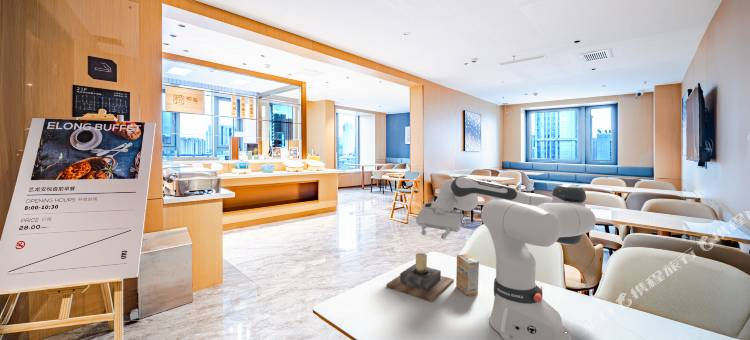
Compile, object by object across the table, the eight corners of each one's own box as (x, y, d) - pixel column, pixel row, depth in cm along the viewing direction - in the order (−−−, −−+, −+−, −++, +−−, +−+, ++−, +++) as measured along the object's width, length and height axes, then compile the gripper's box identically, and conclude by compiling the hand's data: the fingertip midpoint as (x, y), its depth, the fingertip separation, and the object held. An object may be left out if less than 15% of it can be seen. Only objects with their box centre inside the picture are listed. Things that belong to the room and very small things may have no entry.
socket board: (453, 281, 126) (453, 269, 125) (432, 302, 110) (432, 288, 109) (411, 270, 138) (411, 259, 137) (386, 286, 122) (386, 274, 121)
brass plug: (428, 280, 124) (428, 254, 123) (423, 284, 121) (423, 257, 120) (418, 278, 127) (419, 252, 126) (413, 281, 123) (413, 255, 122)
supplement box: (455, 286, 122) (456, 254, 121) (465, 284, 123) (466, 253, 122) (467, 296, 114) (468, 262, 113) (478, 294, 115) (479, 260, 114)
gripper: (466, 216, 134) (457, 244, 127) (424, 211, 147) (414, 236, 140) (462, 208, 130) (453, 236, 123) (420, 203, 143) (410, 228, 136)
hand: (432, 236), depth 132 cm, fingers open, 8 cm apart
